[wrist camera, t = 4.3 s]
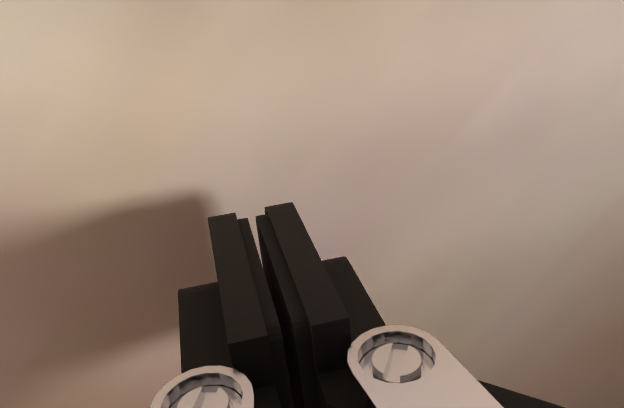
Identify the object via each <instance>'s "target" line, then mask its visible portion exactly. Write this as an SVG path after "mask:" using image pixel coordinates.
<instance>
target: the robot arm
mask: <svg viewBox="0 0 624 408" xmlns="http://www.w3.org/2000/svg"><path fill="white" fill-rule="evenodd" d="M208 223H209V229H210V236H211V242H212V248H213V254H214V260H215V267H216V273H217V279H218V282H215V283H210V284H205V285H200V286H195V287H190V288H185V289H180V290H178V302H179V325H180V348H181V371H182V374H180V375H178V376H176V377H175V378H173V379H172V380H170V381H169V382H168V383H166V384H165V385H164V386H163V387H162V388H161V389H160V390H159V392H158V393H157V394H156V395H155V397H154V399H153V401H152V404H151V406H150V408H564V407H561V406H558V405H555V404H552V403H548V402H545V401H542V400H539V399H536V398H533V397H529V396H526V395H523V394H520V393H517V392H514V391H510V390H507V389H504V388H501V387H498V386H495V385H491V384H488V383H485V382H482V381H479V380H476V379H475V378H474V377H473V376H472V375H471V373H470V372H469V371H468V370H467V369H466V368H465V367H464V366H463V365H462V364H461V363H460V362H459V361H458V360H457V359H456V358H455V357H454V356H453V355H452V354H451V353H450V352H449V351H448V350H447V349H446V348H445V347H444V346H443V345H442V344H441V343H440V341H439V340H437V339H436V338H435V337H433V336H432V335H431V334H429V333H428V332H425V331H423V330H420V329H418V328H415V327H410V326H404V325H385V323H384V322H383V320H382V318H381V316H380V315H379V313H378V311H377V309H376V308H375V306H374V304H373V303H372V301H371V299H370V297H369V296H368V294H367V292H366V290H365V289H364V287H363V285H362V283H361V282H360V280H359V278H358V277H357V275H356V273H355V271H354V270H353V268H352V266H351V264H350V263H349V261H348V260H347V258H346V257H339V258H334V259H329V260H324V261H321V259H320V257H319V255H318V253H317V251H316V249H315V247H314V245H313V243H312V241H311V239H310V237H309V235H308V233H307V230H306V228H305V226H304V224H303V222H302V220H301V218H300V216H299V214H298V212H297V210H296V208H295V206H294V204H293V203H292V202H291V203H285V204H280V205H274V206H269V207H265V215H260V216H256V224H257V231H258V238H259V244H260V251H261V258H262V264H263V267H262V264H261V261H260V258H259V254H258V251H257V248H256V244H255V241H254V238H253V235H252V231H251V228H250V225H249V221H248V218H243V219H238V220H237V217H236V214H235V213H230V214H225V215H219V216H214V217H208Z"/></svg>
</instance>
